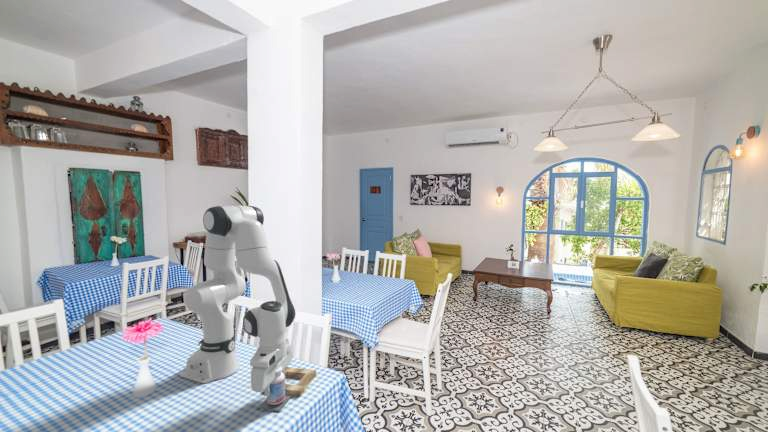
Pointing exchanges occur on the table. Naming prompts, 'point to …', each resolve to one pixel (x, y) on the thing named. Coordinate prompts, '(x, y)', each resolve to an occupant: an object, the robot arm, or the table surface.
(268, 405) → the coaster
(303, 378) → the holder
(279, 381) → the pill bottle
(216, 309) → the robot arm
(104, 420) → the table surface
